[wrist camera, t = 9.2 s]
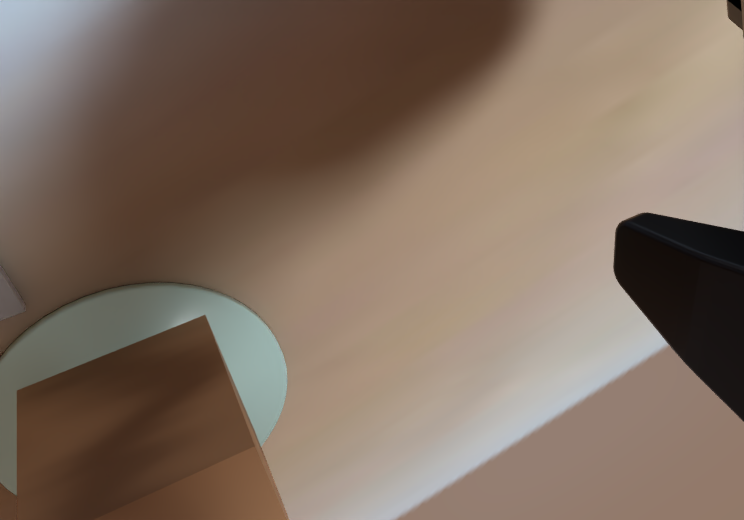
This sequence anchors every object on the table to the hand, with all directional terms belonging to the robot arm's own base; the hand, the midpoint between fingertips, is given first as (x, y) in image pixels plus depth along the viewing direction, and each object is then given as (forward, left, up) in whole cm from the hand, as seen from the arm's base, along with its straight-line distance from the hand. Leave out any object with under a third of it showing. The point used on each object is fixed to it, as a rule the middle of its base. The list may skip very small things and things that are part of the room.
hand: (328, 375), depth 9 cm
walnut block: (+4, +10, -12) cm, 17 cm away
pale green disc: (+4, +10, -12) cm, 17 cm away
